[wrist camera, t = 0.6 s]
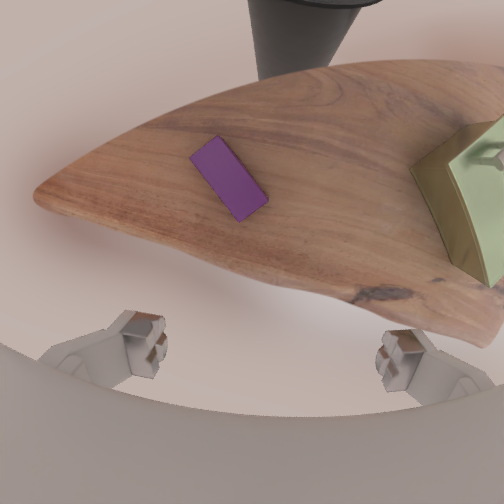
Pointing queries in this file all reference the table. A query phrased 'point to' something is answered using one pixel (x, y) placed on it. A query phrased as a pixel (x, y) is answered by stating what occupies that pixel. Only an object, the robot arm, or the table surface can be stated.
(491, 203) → the green box lid
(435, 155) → the green metal box
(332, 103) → the table surface
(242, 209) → the purple rectangular block
